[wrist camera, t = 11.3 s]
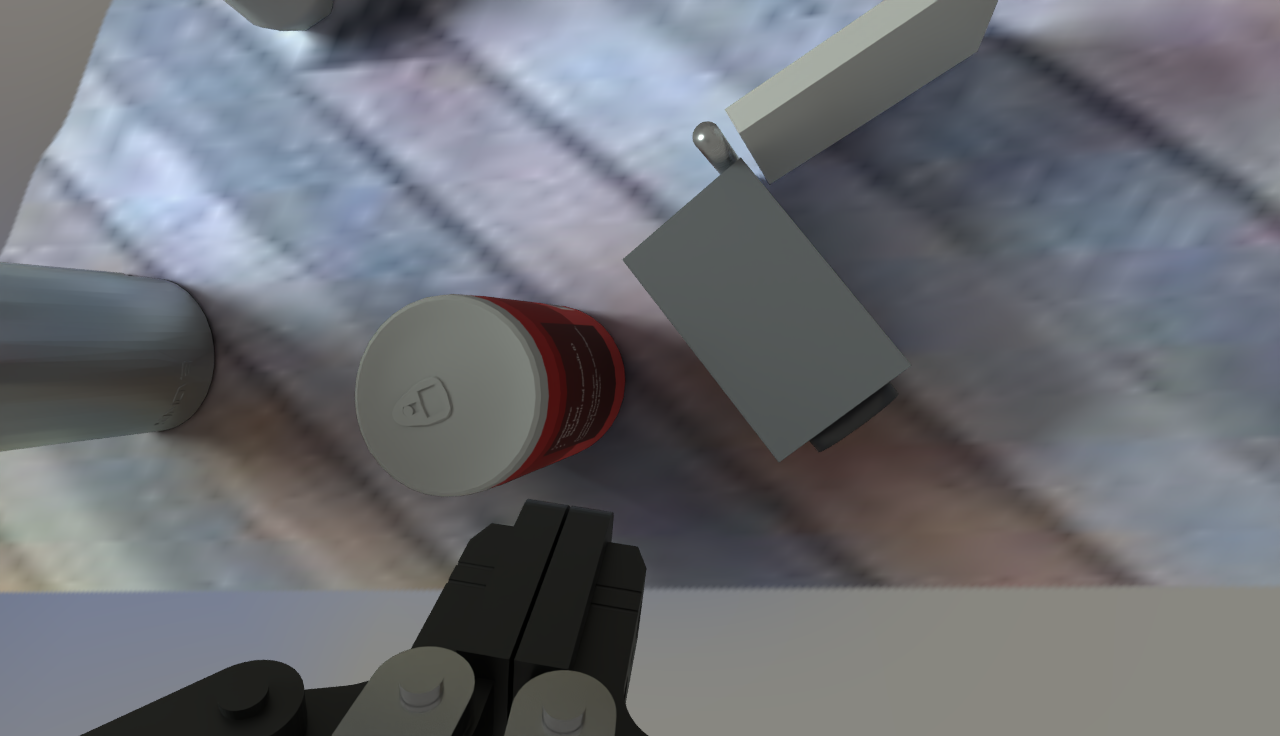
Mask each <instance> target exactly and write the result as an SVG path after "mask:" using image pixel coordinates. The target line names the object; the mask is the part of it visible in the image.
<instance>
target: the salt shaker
mask: <svg viewBox="0 0 1280 736" xmlns="http://www.w3.org/2000/svg"><path fill="white" fill-rule="evenodd" d="M224 1H225V2H226V3H227V4H229V5H230V6H231V7H232V8H234V9H235V10H236V11H237V12H238V13H240V14H241V15H242V16H243V17H245V18H246V19H247V20H248V21H250V22H251V23H252V24H253V25H256V26H259V27H262V28H268V29H273V30H279V31H306V30H307V29H309V28H310V27H312V26H313V25H315V24H316V23H318V22H319V21H320V20H322V19H323V18H325V17H326V16H328V15H329V14H331V10H332V5H333V0H224Z"/></svg>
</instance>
